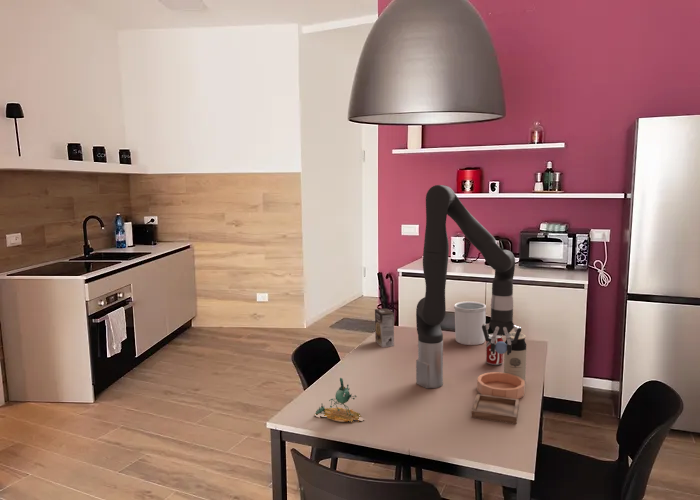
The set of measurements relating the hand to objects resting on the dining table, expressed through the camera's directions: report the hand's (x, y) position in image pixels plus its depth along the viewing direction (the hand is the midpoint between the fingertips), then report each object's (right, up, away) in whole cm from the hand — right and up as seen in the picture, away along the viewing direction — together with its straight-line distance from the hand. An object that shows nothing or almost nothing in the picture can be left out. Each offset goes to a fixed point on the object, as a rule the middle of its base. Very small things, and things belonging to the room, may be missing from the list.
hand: (500, 353), depth 186 cm
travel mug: (+9, -13, +14) cm, 21 cm away
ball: (0, +2, 0) cm, 2 cm away
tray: (-5, -17, -12) cm, 21 cm away
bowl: (+1, -15, +5) cm, 15 cm away
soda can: (+7, -11, +33) cm, 35 cm away
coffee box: (-38, -8, +61) cm, 72 cm away
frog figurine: (-57, -19, -13) cm, 62 cm away
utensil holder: (+3, -7, +63) cm, 63 cm away
